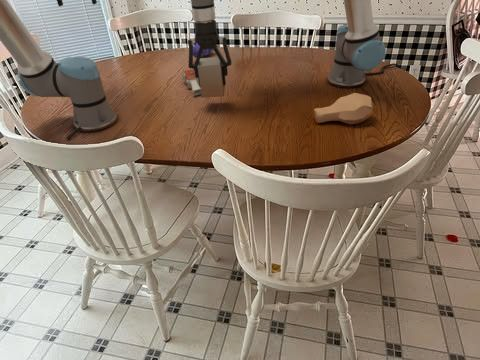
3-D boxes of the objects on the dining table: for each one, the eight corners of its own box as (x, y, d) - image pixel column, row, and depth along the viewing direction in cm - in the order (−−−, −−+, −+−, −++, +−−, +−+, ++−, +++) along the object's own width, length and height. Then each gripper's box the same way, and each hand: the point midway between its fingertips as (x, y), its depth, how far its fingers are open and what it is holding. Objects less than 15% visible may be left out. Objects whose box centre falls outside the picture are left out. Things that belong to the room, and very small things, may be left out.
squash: (377, 125, 120) (379, 103, 114) (317, 135, 122) (317, 114, 116) (367, 107, 128) (369, 85, 121) (311, 116, 130) (311, 95, 123)
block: (224, 87, 139) (221, 56, 132) (223, 96, 132) (220, 64, 125) (204, 88, 139) (199, 58, 132) (201, 97, 132) (197, 65, 125)
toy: (200, 58, 202) (185, 64, 180) (197, 26, 195) (181, 28, 173) (217, 58, 200) (204, 63, 177) (214, 25, 193) (200, 26, 171)
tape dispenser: (197, 100, 148) (224, 81, 161) (196, 88, 145) (223, 70, 157) (165, 91, 156) (193, 74, 168) (163, 80, 152) (192, 63, 165)
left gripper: (96, -63, 130) (111, 1, 143) (30, -59, 131) (51, 4, 144) (89, -62, 124) (106, 4, 137) (19, -58, 125) (42, 8, 138)
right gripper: (235, 15, 123) (240, 79, 136) (175, 20, 124) (186, 83, 137) (235, 20, 117) (240, 86, 130) (172, 25, 118) (183, 90, 131)
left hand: (78, 4), depth 140 cm, fingers open, 13 cm apart
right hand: (212, 84), depth 134 cm, fingers closed on block, 8 cm apart
